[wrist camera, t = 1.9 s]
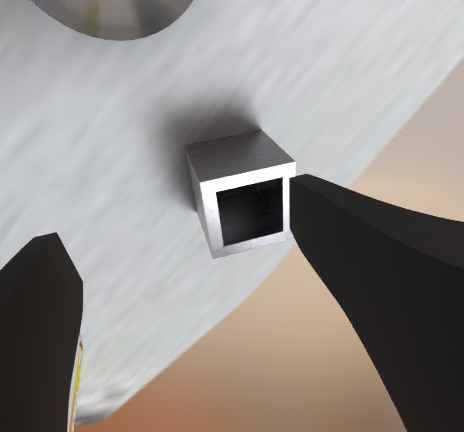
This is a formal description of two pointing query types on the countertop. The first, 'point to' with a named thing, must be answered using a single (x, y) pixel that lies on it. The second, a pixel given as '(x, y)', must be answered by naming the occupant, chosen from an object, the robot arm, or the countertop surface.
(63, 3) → the ratchet
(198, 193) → the square metal tube
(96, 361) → the countertop surface
